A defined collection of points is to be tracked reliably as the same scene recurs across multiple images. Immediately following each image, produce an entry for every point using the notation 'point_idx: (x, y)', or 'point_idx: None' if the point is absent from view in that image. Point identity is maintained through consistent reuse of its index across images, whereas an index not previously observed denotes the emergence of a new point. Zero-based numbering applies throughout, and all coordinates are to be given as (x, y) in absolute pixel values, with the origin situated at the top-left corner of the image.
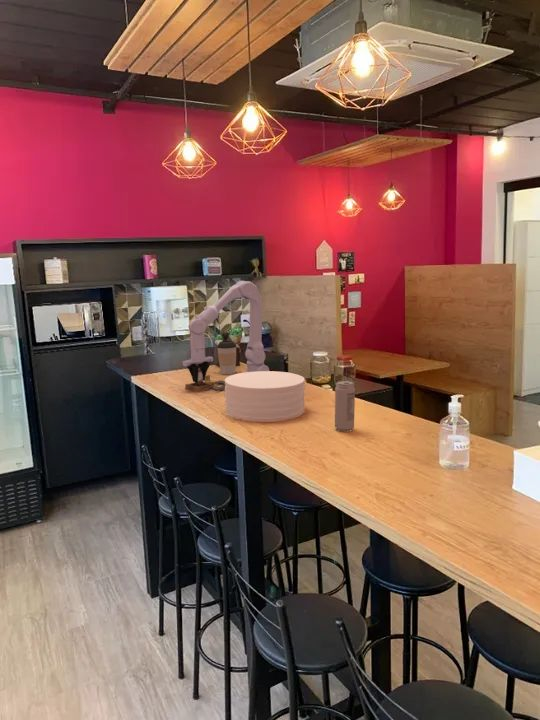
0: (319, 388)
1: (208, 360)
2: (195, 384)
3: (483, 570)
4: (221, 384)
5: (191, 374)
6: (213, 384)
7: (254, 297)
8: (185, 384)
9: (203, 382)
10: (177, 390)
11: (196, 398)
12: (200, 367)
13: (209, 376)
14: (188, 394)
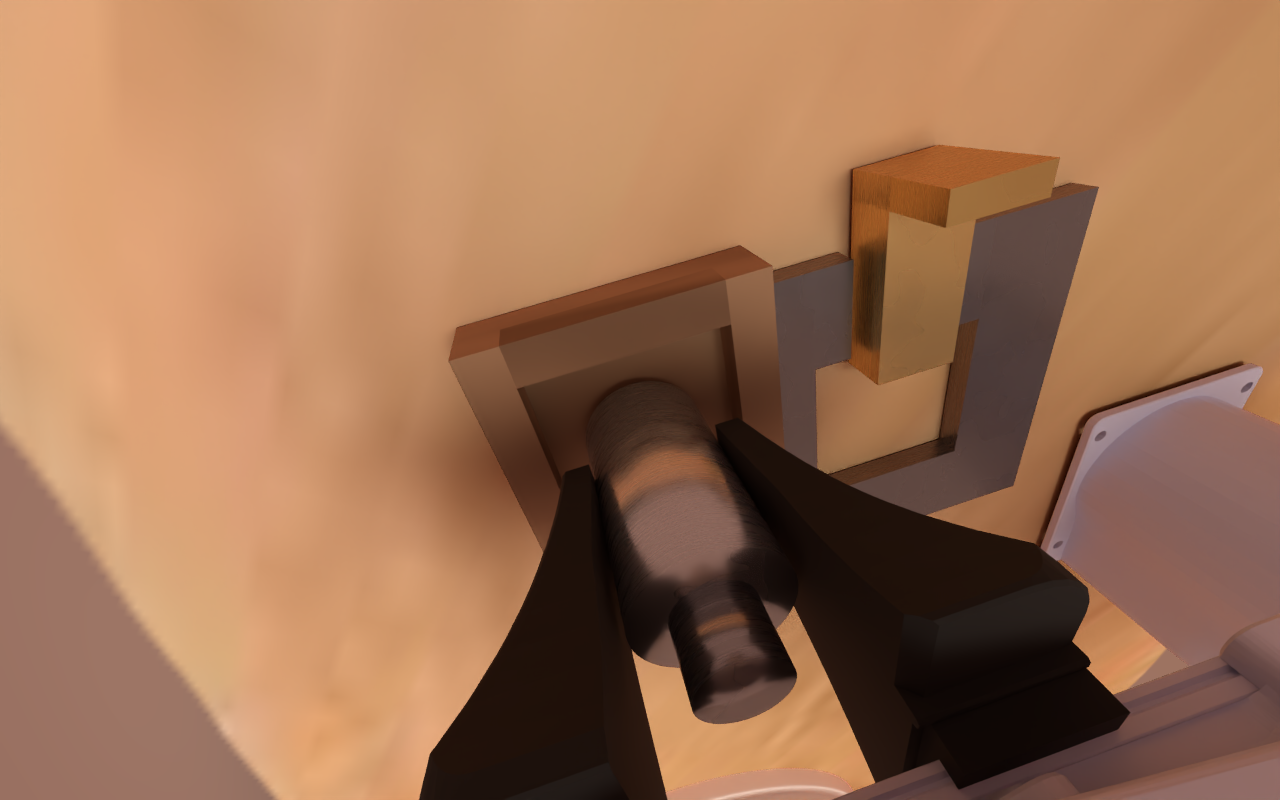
0: (1156, 658)
1: (1184, 745)
2: (589, 459)
3: None
4: (959, 336)
5: (548, 570)
6: (860, 367)
7: None
8: (452, 362)
9: (759, 370)
10: (309, 336)
11: (453, 690)
12: (792, 686)
13: (1021, 195)
14: (419, 568)
